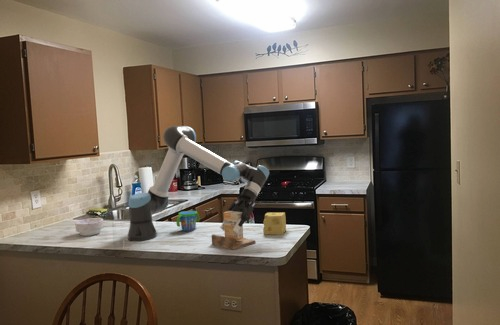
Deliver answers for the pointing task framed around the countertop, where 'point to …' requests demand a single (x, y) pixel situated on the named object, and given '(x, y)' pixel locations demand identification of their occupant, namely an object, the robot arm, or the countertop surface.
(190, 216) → the snack cup
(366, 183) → the countertop surface
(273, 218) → the cheese
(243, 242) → the mounting block
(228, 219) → the supplement box
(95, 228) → the paper bowls
